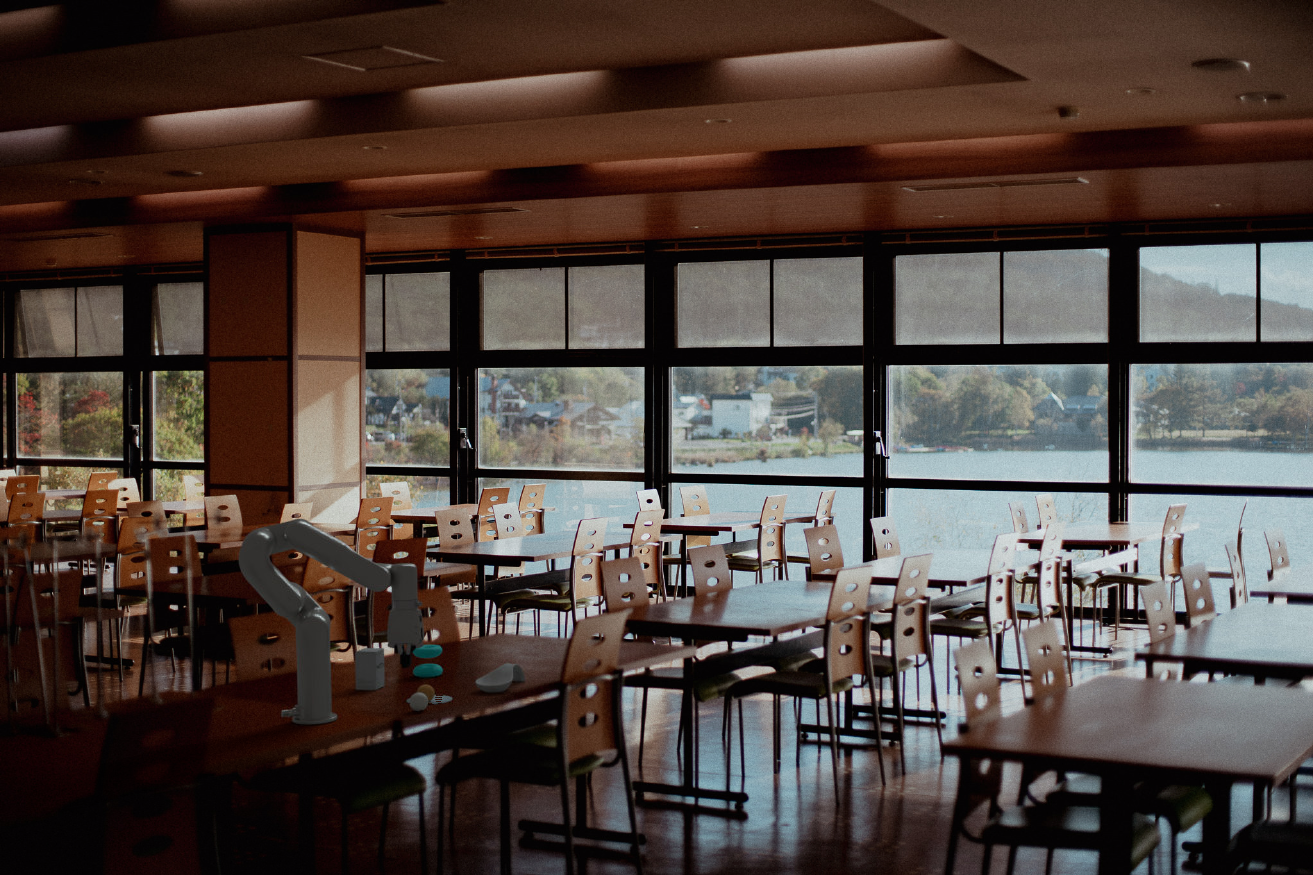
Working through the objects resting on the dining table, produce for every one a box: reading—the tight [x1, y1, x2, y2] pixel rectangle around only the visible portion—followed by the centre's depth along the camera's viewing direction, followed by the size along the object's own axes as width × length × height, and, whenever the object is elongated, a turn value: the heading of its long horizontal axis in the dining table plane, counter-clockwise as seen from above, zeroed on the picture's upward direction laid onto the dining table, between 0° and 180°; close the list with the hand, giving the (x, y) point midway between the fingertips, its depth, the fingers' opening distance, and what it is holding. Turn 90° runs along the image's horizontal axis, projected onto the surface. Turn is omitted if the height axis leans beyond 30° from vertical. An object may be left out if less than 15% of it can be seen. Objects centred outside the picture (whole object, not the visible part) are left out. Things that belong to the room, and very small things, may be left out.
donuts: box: [412, 644, 444, 678], centre depth 460 cm, size 10×10×10 cm
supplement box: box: [354, 647, 385, 691], centre depth 439 cm, size 7×7×13 cm
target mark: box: [406, 694, 453, 705], centre depth 417 cm, size 14×14×1 cm
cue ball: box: [409, 692, 429, 712], centre depth 401 cm, size 6×6×6 cm
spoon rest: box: [475, 662, 526, 694], centre depth 436 cm, size 24×12×7 cm, turn 160°
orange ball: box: [416, 684, 436, 702], centre depth 414 cm, size 6×6×6 cm
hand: (406, 667), depth 396 cm, fingers closed
